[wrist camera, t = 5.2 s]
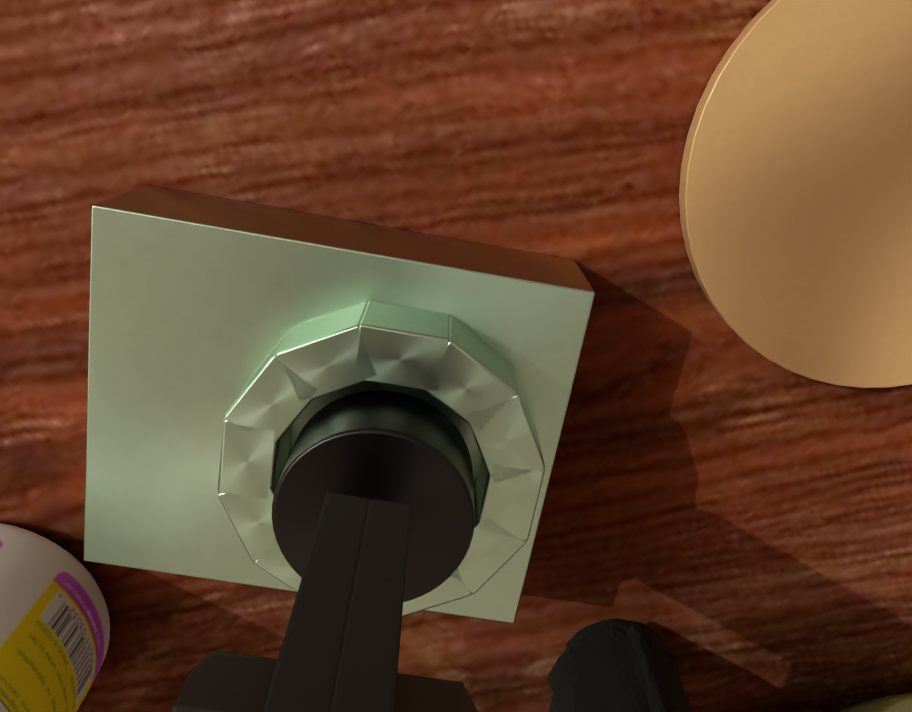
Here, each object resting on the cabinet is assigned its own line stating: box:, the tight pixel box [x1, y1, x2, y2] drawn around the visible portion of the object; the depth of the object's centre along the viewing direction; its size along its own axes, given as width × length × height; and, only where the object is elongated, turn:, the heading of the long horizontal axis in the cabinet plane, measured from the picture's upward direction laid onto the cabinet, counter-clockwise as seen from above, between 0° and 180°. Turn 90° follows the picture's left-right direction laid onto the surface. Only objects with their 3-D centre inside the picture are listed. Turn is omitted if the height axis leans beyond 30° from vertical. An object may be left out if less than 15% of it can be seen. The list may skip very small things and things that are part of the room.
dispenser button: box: [272, 390, 475, 602], centre depth 17 cm, size 4×4×2 cm
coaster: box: [679, 0, 912, 388], centre depth 20 cm, size 11×11×1 cm
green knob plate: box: [84, 185, 595, 623], centre depth 19 cm, size 11×9×5 cm
